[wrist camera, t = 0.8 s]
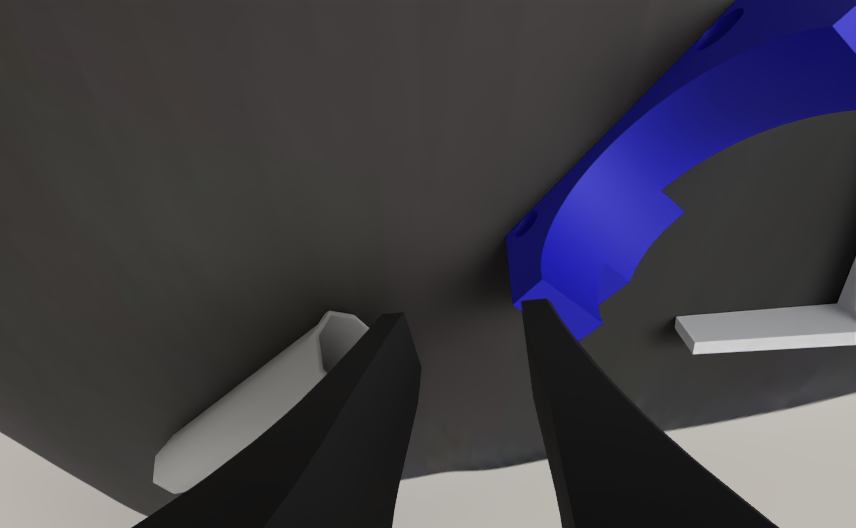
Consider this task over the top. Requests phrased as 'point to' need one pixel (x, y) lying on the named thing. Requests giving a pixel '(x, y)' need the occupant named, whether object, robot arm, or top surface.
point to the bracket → (774, 326)
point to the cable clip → (679, 146)
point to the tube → (254, 404)
